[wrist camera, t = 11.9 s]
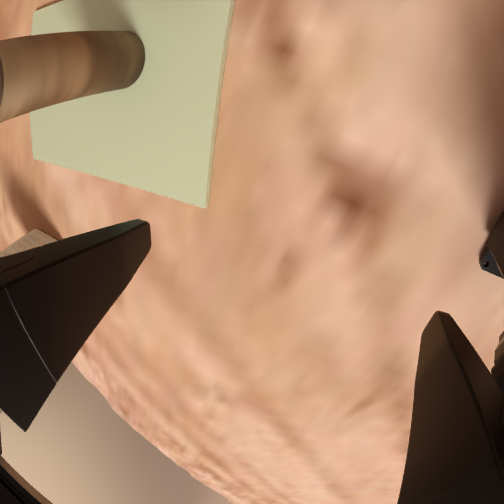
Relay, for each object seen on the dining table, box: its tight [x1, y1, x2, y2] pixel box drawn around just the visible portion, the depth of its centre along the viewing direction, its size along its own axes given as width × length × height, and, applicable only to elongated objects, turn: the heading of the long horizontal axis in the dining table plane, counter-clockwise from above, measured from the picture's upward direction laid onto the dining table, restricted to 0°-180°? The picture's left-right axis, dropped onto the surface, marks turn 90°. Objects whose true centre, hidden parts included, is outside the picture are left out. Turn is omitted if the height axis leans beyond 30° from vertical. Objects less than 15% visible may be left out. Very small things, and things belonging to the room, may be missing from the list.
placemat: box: [30, 0, 235, 209], centre depth 21 cm, size 24×18×1 cm
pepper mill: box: [0, 31, 145, 123], centre depth 14 cm, size 5×5×14 cm
